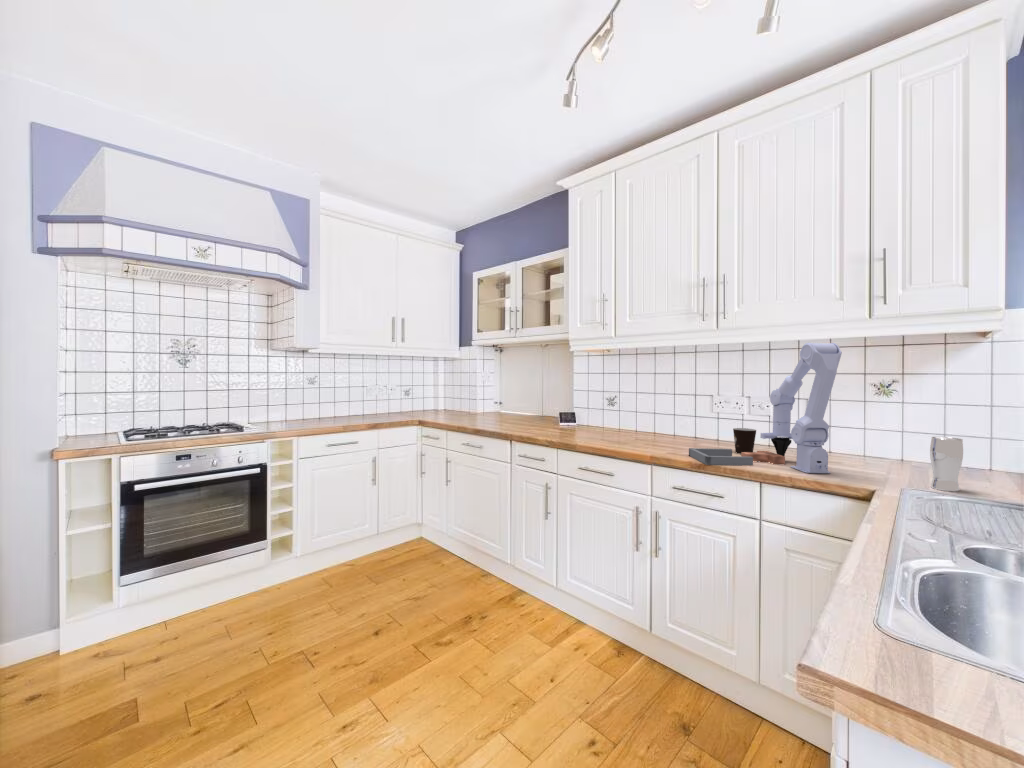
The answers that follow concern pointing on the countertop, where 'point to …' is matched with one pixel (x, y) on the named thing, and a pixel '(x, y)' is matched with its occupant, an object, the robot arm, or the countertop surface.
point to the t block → (765, 457)
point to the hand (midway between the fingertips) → (780, 457)
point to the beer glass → (946, 462)
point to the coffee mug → (744, 439)
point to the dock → (718, 457)
